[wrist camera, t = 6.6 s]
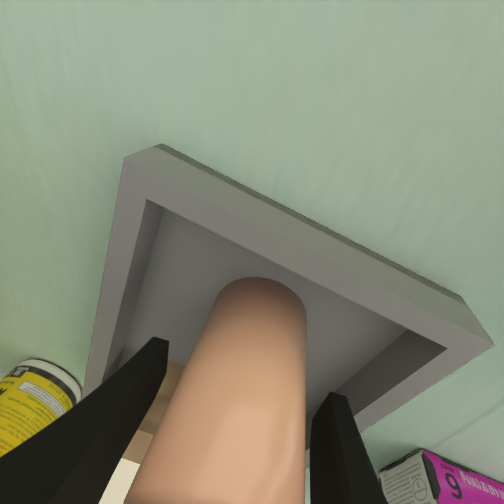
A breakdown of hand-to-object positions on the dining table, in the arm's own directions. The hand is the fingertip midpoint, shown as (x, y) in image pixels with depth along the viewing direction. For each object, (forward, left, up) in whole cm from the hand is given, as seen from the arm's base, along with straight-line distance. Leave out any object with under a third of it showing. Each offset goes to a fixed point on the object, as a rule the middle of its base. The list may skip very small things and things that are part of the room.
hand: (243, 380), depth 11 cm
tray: (0, +4, -4) cm, 5 cm away
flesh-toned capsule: (0, 0, -4) cm, 4 cm away
